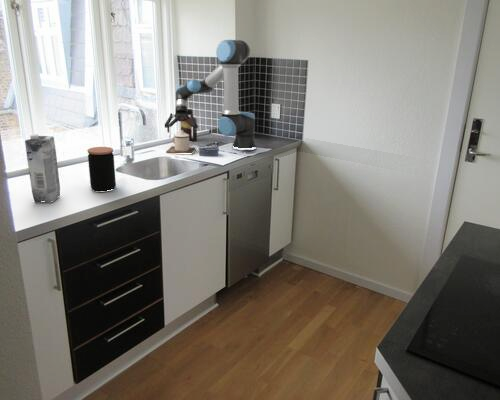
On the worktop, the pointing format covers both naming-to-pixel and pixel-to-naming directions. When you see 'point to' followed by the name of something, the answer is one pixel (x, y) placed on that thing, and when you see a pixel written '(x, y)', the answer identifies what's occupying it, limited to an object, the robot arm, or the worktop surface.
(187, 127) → the vase
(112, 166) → the coffee jar
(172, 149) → the walnut board
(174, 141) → the teacup with lid
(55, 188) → the juice carton
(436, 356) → the worktop surface
